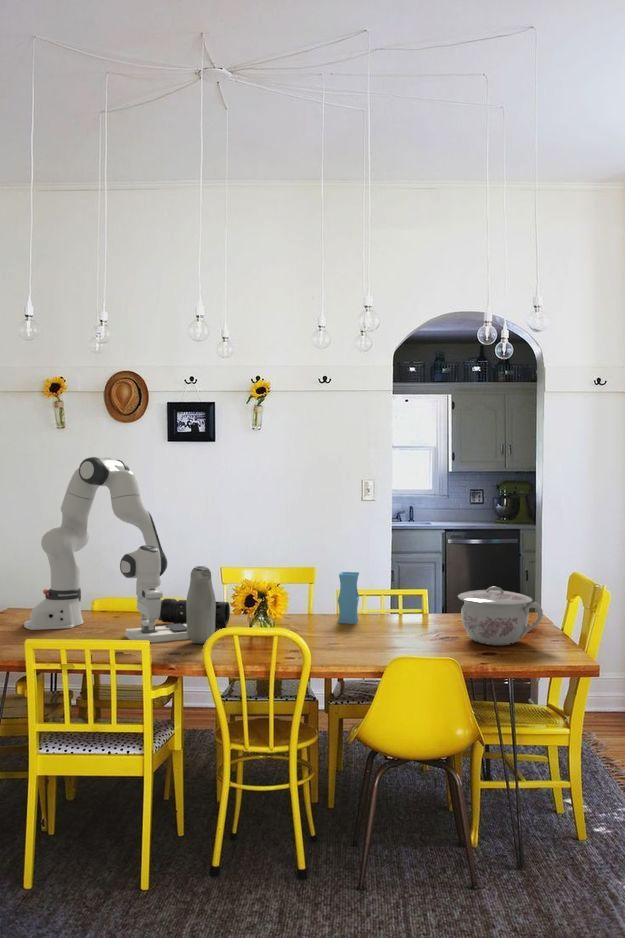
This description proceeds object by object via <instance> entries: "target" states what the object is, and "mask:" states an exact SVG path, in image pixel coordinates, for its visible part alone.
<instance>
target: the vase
mask: <svg viewBox="0 0 625 938" xmlns="http://www.w3.org/2000/svg"><path fill="white" fill-rule="evenodd" d="M359 575H360V572H357V571H340V572H339V573H338V578H339V583H340V584H339V588H340V589H339V594H338V597H337V603H338V609H339V613H338V619H337V620H338V621H337V624H350V625H351V624H353V625H354V624H356V625H357V624H358V622H359V615H358V606H359V600H360V595H359V592H358V591H359V590H358V580H359Z"/></svg>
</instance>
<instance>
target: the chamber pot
mask: <svg viewBox="0 0 625 938" xmlns="http://www.w3.org/2000/svg"><path fill="white" fill-rule="evenodd" d="M457 598H458V599H459V600H461V601H463V602H464V604H463V606H462V607H461V609H460V610H461V611H460V616H461V621H462V622H461V623H462V626H463V629H464V630H465V631H466V633H467V635H468V636H469V638H470V639H471V640H472V641H474V642H476V643H479V644H482V645H486V646H494V647H496V646H498V647H503V646H509V645H513V644H515V643H517V642H518V641H520V639H521V638H523V637H524V636H525V635H526V633H528V632H529V631H530V630H532V629H534V628H535V627H537V626H538V625H540V623H541V622H542V621H543V616H544V613H543V612H544V611H543V609H542V606H541V605H540V604H539V603H538V602H537V601H534V600H533V598H532V597H531V596H528V595H525V594H522V593H518V592H515V591H508V590H503V589H502V588H501V587H498V586H489V587H487V589H478V590H469V591H465V592H461V593H459V594H458V595H457ZM532 608H533V609H536V610H537V618H536V620H535V621H534V622H533V624H530V625H528V622H529V614H530V611H529V610H530V609H532ZM477 641H478V642H477ZM481 642H482V643H481ZM514 642H515V643H514ZM487 643H489V644H487ZM508 643H512V644H508Z"/></svg>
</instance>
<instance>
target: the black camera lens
mask: <svg viewBox="0 0 625 938" xmlns="http://www.w3.org/2000/svg"><path fill="white" fill-rule="evenodd" d="M186 601H187V599H179V600H177V599H175V598H163V599H161V610H160V617H159V619H157V621H161V622H162V623H169V624H179V623H181V624H187V613H186ZM230 614H231V607H230V602H228V601H216V611H215V627H222V628H224V627H227V625H228V624H229V621H230V617H231V615H230Z"/></svg>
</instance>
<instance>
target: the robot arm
mask: <svg viewBox="0 0 625 938" xmlns="http://www.w3.org/2000/svg"><path fill="white" fill-rule="evenodd" d="M99 487H107V489H108V490H109V494H110V501H111V509H112V512H113V514H114V516H115V517H116V518H117V519H119V520H120V521H122V522H124V523H127V524H130V525H133V526H134V527H137V529H139V531H140V532H141V534H142V537H143V540H144V543H145V544H144V545H141V546H139V547H138V548H137V550H134V551H132V552H128V553H125V554H124V555H123V556H122V557H121V559H120V563H119V569H120V573H121V574H122V575H123V576H124V577H125V578H126V579H127V578H128V579H136V580H135V581H136V585H135V586H136V587H135V590H136V591H135V595H136V610H137V611H138V612H140V618H141V622H142V621H144V620H149V625H148V629H149V630H153V629H154V623H155V624H156V620H158V619H159V617H160V610H161V600H162V598H163V591H162V587H161V585H162V584H161V583H162V581H161V576H162V575H164V573H165V572H166V570H167V568H168V558H167V556H166V555H165V553H164V550H163V548H162V545H161V542H160V537H159V535H158V532H157V529H156V525H155V522H154V519H153V516H152V515H151V513H150V511H148V510H147V509H146V507H145V506H144V504H143V502H142V498H141V493H140V488H139V484H138V481H137V478H136V476H135V473H134V472H133V471H131V470H130V467H129V465H128V464H127V463H126V462H124V461H122V460H120V459H114V458H111V457H97V456H91V457H86V458H85V459H83V460H82V461H81V462H80V464H79V467H78V468H77V469H75V471H74V473H73V474H72V476H71V478H70V480H69V482H68V486H67V488H66V492H65V494H64V497H63V500H62V502H61V503H62V504H61V507H60V512H61V514H62V515H61V518H62V520H61V525H60V526H59V527H53V528H52V529H50V530H48V531H46V533H44V534H43V536H42V538H41V541H40V543H41V549H42V550H43V551H44V553H45V555H46V556H47V560H48V563H49V568H50V569H49V570H50V588H48V589H47V588H44V589H43V591H42V593H43V595H44V597H45V599H43V600H42V601H41V602H40V603H38V604H37V605H36V606H34V607H33V608H32V609H31V612H30V616H29V620H26V621H24V624H23V627H24V628H26V629H27V630H32V631H33V630H34V631H35V630H36V631H37V630H38V631H39V630H58V629H60V630H61V629H62V630H63V629H72V628H74V627H76V626H77V627H78V626H80V625H83V624H84V620H83V615H82V610H81V609H82V608H81V600H82V588H81V587H80V586H81V583H80V582H81V581H80V579H81V575H80V574H81V573H80V572H81V569H80V567H79V566H78V564H77V561H76V557H75V553H76V552H78V551H81V550H82V549H84V547H85V546H87V544H88V542H89V533H88V523H89V522H88V521H89V515H90V512H91V509H92V507H93V502H94V499H95V496H96V493H97V490H98V489H99ZM147 618H148V619H147Z"/></svg>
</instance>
